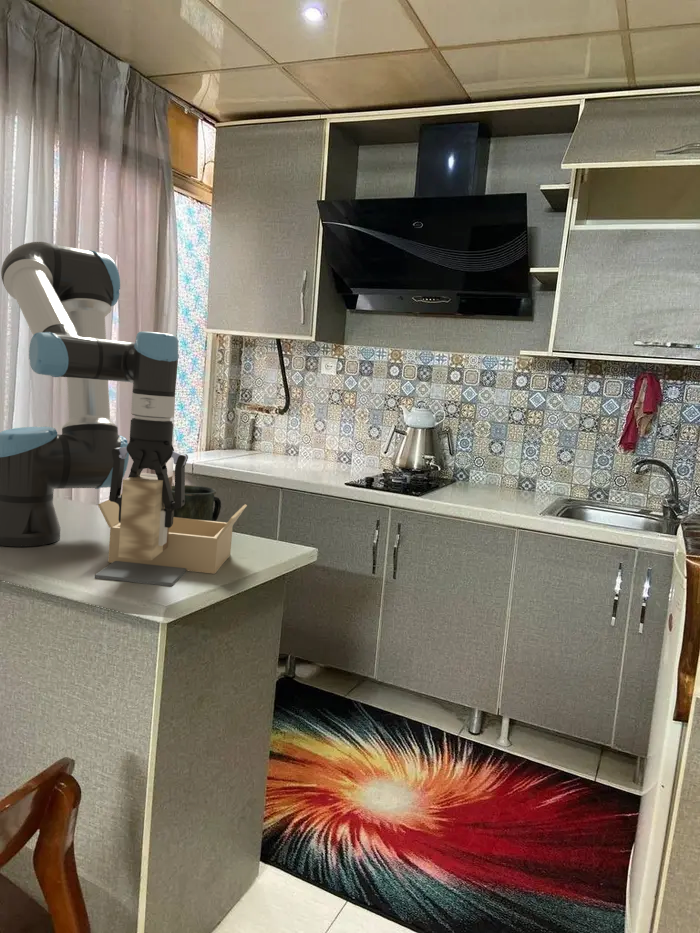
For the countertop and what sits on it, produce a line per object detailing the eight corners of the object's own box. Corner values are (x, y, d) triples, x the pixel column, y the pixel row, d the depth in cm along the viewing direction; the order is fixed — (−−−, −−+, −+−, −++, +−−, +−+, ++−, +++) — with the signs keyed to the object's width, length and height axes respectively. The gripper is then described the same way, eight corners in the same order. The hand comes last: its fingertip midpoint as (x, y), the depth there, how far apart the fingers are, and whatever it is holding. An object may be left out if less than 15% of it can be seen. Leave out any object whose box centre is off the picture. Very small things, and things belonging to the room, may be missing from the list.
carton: (94, 560, 139) (97, 503, 137) (121, 543, 153) (124, 491, 152) (228, 575, 138) (233, 517, 137) (242, 556, 153) (247, 504, 151)
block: (118, 556, 127) (122, 479, 126) (136, 544, 137) (141, 472, 136) (151, 560, 127) (156, 483, 125) (167, 547, 137) (172, 475, 135)
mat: (94, 577, 128) (95, 574, 128) (114, 563, 138) (115, 560, 138) (171, 586, 128) (171, 582, 128) (186, 571, 138) (186, 568, 138)
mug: (152, 539, 160) (155, 486, 158) (200, 531, 172) (204, 482, 170) (184, 549, 154) (188, 495, 152) (232, 541, 165) (237, 490, 164)
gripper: (92, 414, 126) (86, 541, 128) (199, 424, 125) (189, 552, 128) (108, 412, 133) (101, 532, 136) (208, 422, 133) (200, 542, 135)
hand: (144, 541), depth 132 cm, fingers closed on block, 6 cm apart
